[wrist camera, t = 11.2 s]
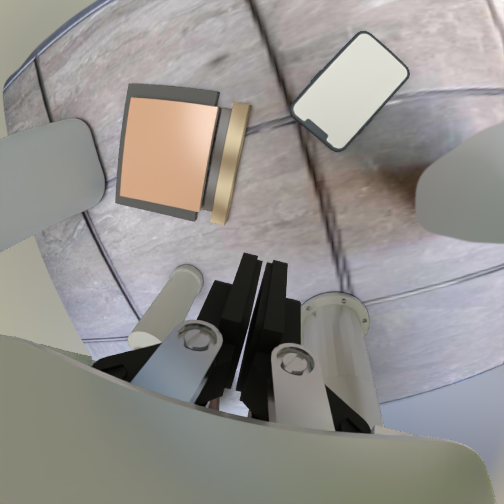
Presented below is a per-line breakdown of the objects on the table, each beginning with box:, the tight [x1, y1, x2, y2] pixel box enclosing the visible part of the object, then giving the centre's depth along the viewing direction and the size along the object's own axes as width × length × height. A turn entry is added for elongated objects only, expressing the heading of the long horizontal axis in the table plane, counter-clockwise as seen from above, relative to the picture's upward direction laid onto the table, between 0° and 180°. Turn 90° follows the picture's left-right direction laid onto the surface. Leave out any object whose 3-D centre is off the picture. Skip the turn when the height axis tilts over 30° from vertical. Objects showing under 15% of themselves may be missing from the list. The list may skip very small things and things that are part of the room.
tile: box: [120, 97, 220, 212], centre depth 37 cm, size 1×14×12 cm
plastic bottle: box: [0, 118, 105, 253], centre depth 28 cm, size 15×15×28 cm
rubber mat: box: [115, 84, 220, 222], centre depth 38 cm, size 18×13×1 cm
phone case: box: [290, 31, 410, 152], centre depth 32 cm, size 9×2×16 cm
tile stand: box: [204, 102, 251, 225], centre depth 37 cm, size 16×3×2 cm, turn 168°
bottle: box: [128, 265, 203, 351], centre depth 35 cm, size 5×5×25 cm
